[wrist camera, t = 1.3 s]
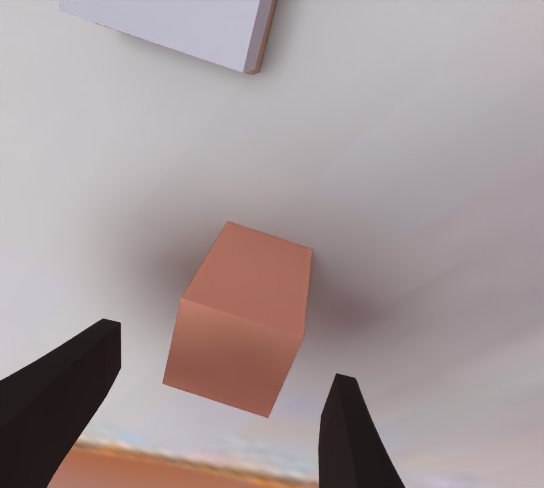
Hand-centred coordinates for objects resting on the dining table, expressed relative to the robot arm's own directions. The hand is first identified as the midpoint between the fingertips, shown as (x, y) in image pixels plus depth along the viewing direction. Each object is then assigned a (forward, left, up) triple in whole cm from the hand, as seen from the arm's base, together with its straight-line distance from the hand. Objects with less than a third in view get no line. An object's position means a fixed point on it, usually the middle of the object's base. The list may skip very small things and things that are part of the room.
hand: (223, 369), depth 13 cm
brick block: (0, 0, -6) cm, 6 cm away
